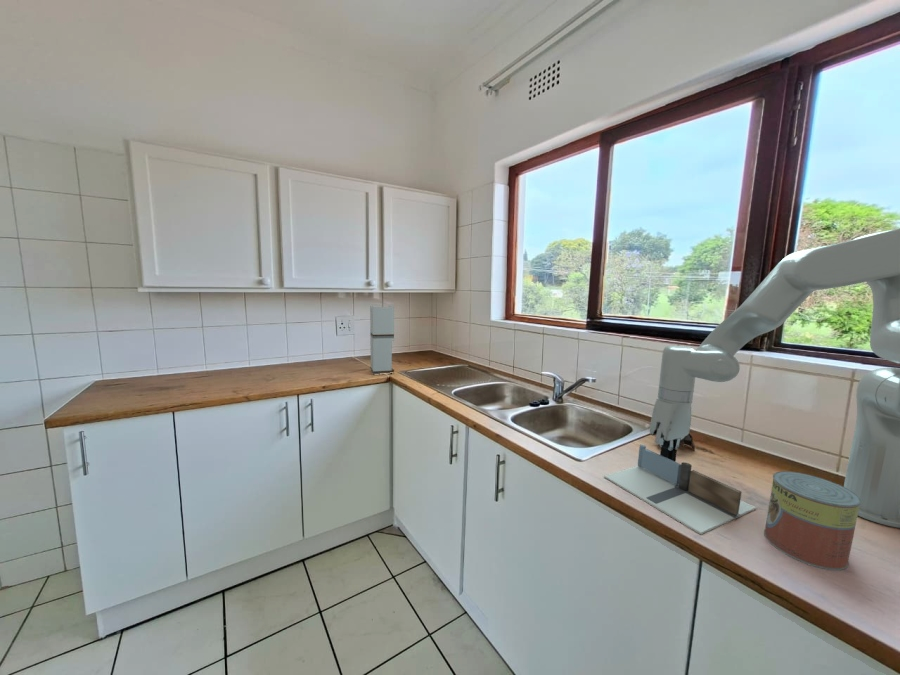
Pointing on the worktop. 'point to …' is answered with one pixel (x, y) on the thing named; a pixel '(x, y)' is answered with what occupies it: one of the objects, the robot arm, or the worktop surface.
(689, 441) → the brown open ring frame
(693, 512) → the card
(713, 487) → the fixed fence section
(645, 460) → the hinged fence panel
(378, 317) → the grooved grey pillar
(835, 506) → the canned food
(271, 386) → the worktop surface
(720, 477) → the worktop surface
